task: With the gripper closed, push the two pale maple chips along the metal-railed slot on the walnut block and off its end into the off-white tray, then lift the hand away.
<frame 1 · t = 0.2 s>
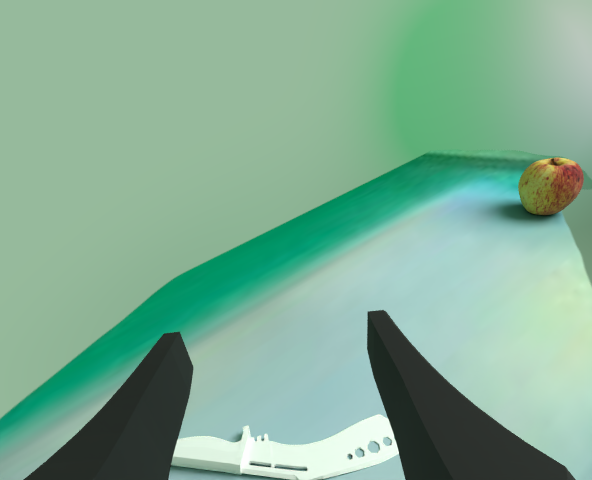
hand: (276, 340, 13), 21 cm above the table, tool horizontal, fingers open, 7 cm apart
knife: (304, 439, 32), on the table
apple: (540, 212, 63), on the table
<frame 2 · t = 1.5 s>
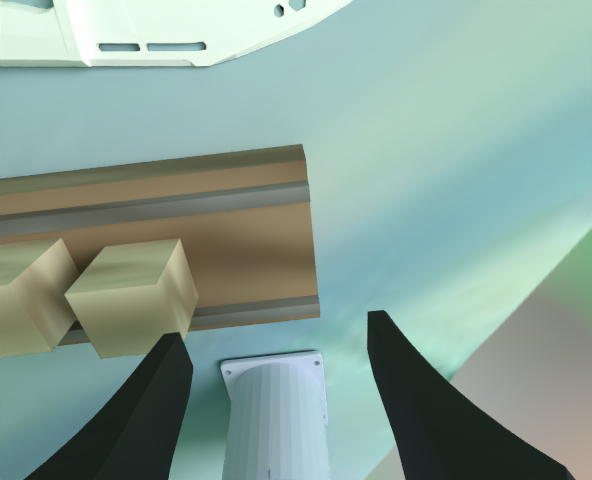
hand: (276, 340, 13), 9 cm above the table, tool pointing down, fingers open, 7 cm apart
slot block: (135, 243, 22), on the table
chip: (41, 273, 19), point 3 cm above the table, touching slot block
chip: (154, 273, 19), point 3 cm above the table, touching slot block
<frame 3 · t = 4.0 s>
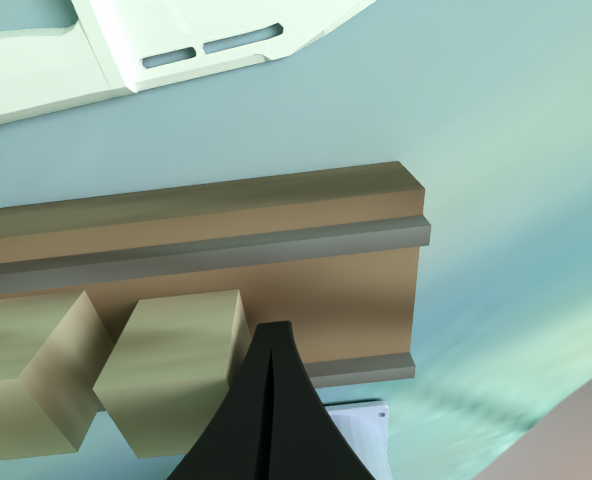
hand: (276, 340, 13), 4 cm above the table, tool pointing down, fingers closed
slot block: (173, 284, 17), on the table
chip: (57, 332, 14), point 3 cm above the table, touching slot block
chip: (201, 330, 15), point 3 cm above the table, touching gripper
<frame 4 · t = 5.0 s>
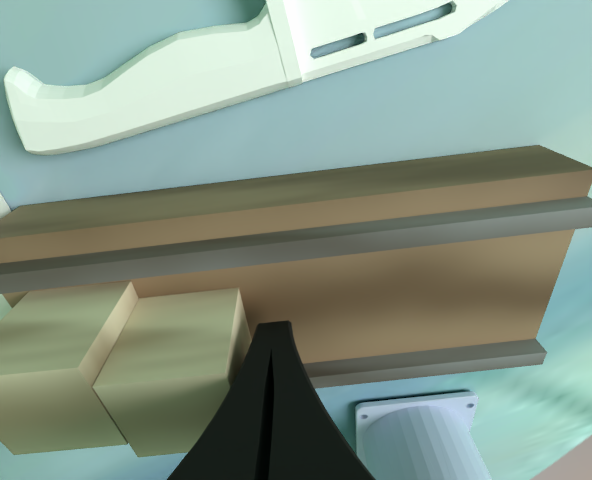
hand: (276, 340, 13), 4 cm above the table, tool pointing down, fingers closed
slot block: (290, 271, 17), on the table
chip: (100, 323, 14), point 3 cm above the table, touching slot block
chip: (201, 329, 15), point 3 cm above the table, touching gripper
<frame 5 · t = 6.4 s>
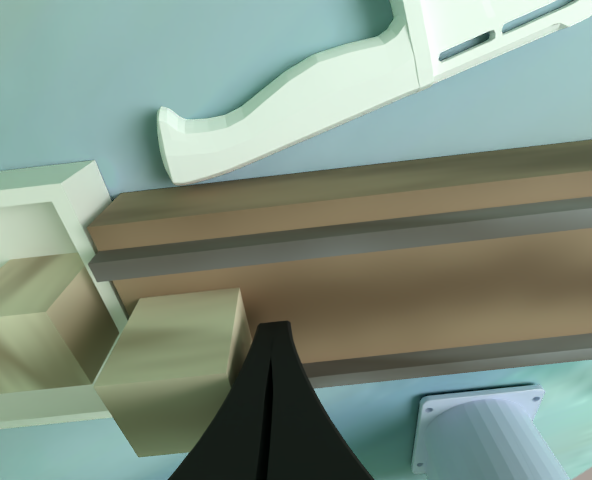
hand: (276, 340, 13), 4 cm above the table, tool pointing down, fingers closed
slot block: (377, 261, 17), on the table
tray: (19, 300, 17), on the table
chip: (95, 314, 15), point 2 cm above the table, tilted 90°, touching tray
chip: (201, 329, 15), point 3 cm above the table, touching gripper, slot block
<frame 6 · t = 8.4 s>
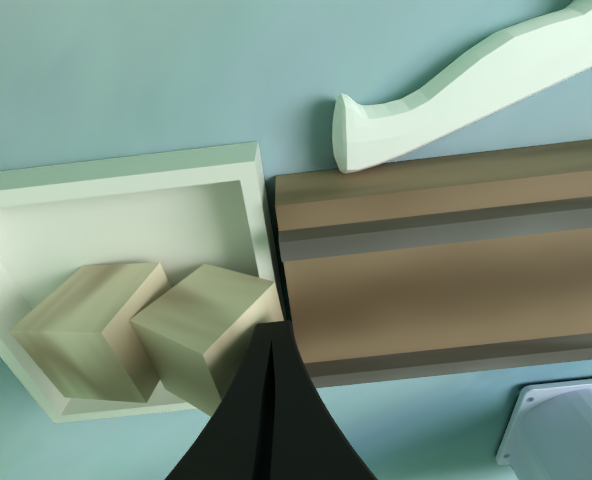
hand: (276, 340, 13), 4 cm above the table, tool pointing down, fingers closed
slot block: (511, 246, 17), on the table
tray: (149, 286, 17), on the table
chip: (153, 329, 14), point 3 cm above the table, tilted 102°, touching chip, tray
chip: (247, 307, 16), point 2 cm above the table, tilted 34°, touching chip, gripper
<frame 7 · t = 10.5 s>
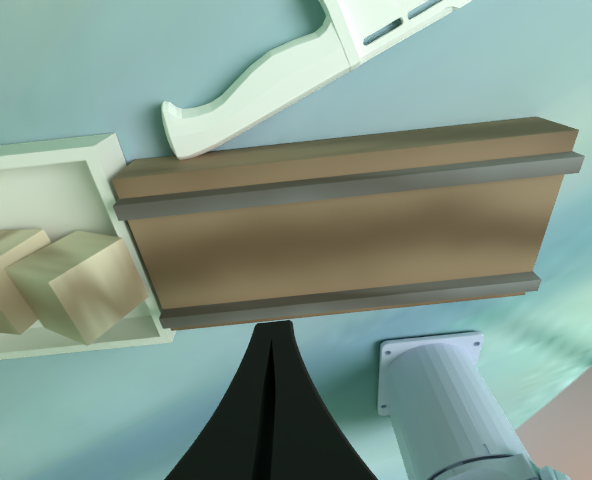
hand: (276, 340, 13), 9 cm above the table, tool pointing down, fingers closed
slot block: (337, 219, 21), on the table
tray: (50, 249, 21), on the table
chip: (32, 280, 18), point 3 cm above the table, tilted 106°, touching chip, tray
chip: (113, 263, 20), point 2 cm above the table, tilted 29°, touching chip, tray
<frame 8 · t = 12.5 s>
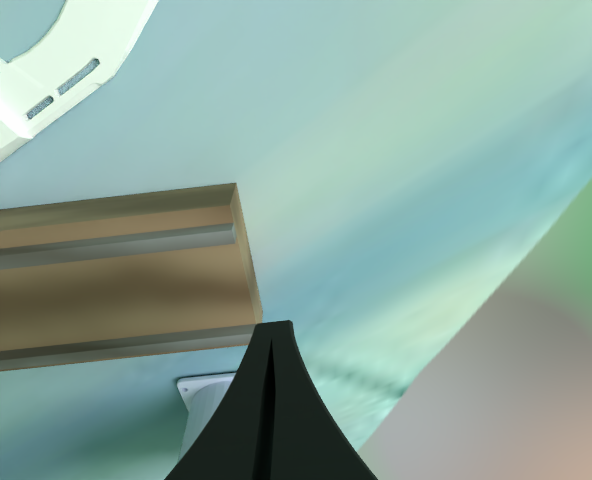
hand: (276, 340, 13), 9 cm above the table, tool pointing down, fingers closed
slot block: (84, 273, 22), on the table
knife: (45, 4, 16), on the table, touching slot block
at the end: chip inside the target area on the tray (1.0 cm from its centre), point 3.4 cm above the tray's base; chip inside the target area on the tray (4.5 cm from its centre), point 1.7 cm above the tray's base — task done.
